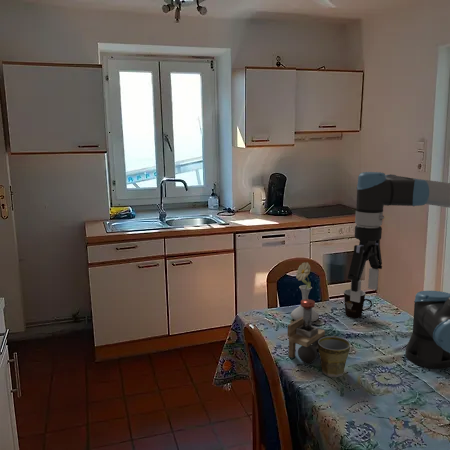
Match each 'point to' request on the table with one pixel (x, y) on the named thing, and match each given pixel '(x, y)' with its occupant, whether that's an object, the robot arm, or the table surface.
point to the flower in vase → (304, 291)
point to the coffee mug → (354, 305)
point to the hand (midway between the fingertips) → (364, 295)
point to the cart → (304, 341)
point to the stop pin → (307, 313)
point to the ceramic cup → (333, 355)
